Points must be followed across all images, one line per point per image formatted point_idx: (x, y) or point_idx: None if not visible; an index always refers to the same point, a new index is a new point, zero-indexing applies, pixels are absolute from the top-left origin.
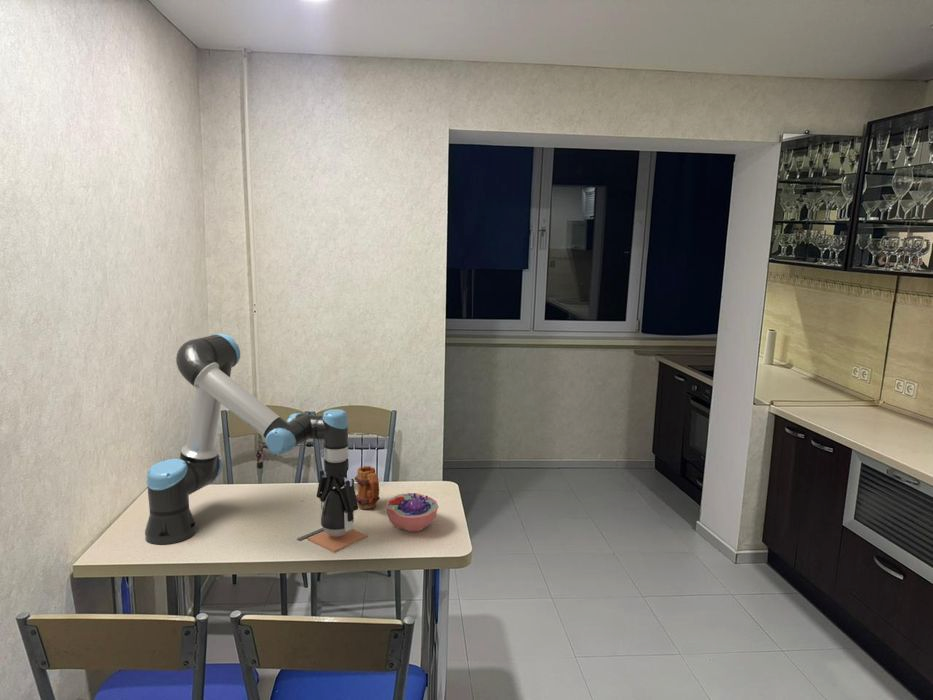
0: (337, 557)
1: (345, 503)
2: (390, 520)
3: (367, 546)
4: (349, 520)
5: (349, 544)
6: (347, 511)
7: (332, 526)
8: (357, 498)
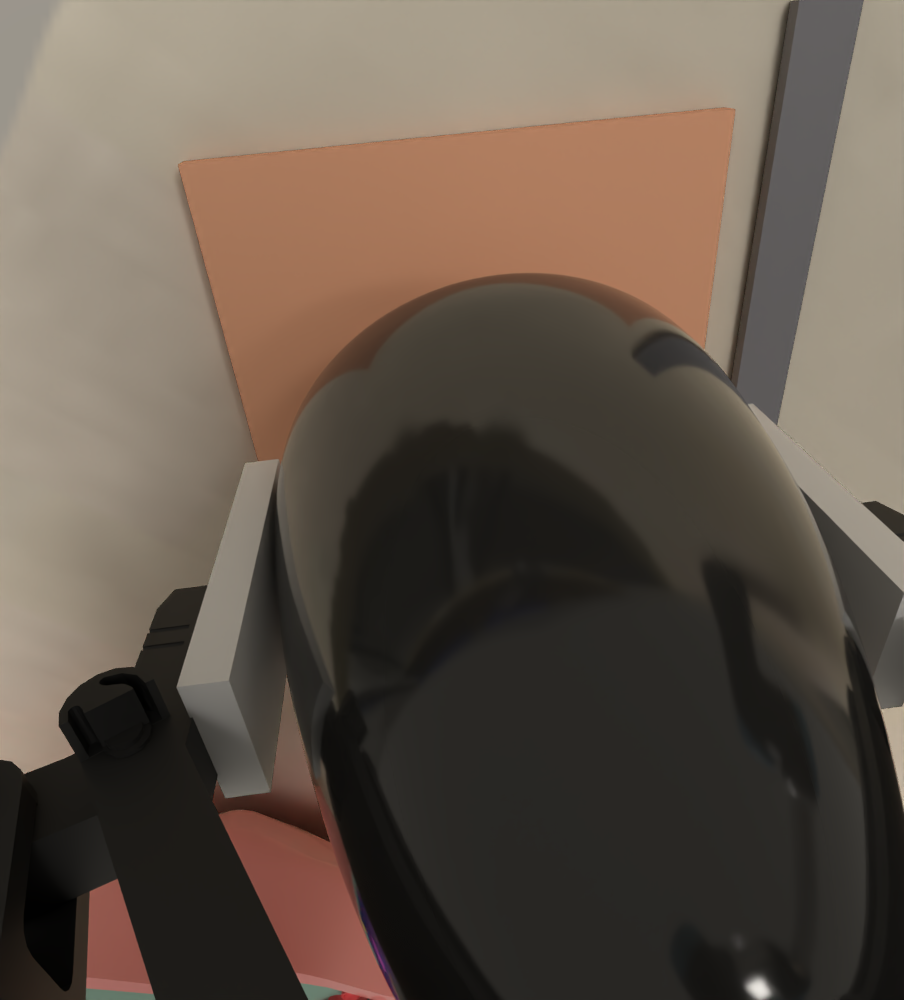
0: (34, 117)
1: (152, 881)
2: (245, 850)
3: (124, 518)
4: (173, 602)
5: (247, 408)
6: (71, 721)
7: (359, 353)
8: None
